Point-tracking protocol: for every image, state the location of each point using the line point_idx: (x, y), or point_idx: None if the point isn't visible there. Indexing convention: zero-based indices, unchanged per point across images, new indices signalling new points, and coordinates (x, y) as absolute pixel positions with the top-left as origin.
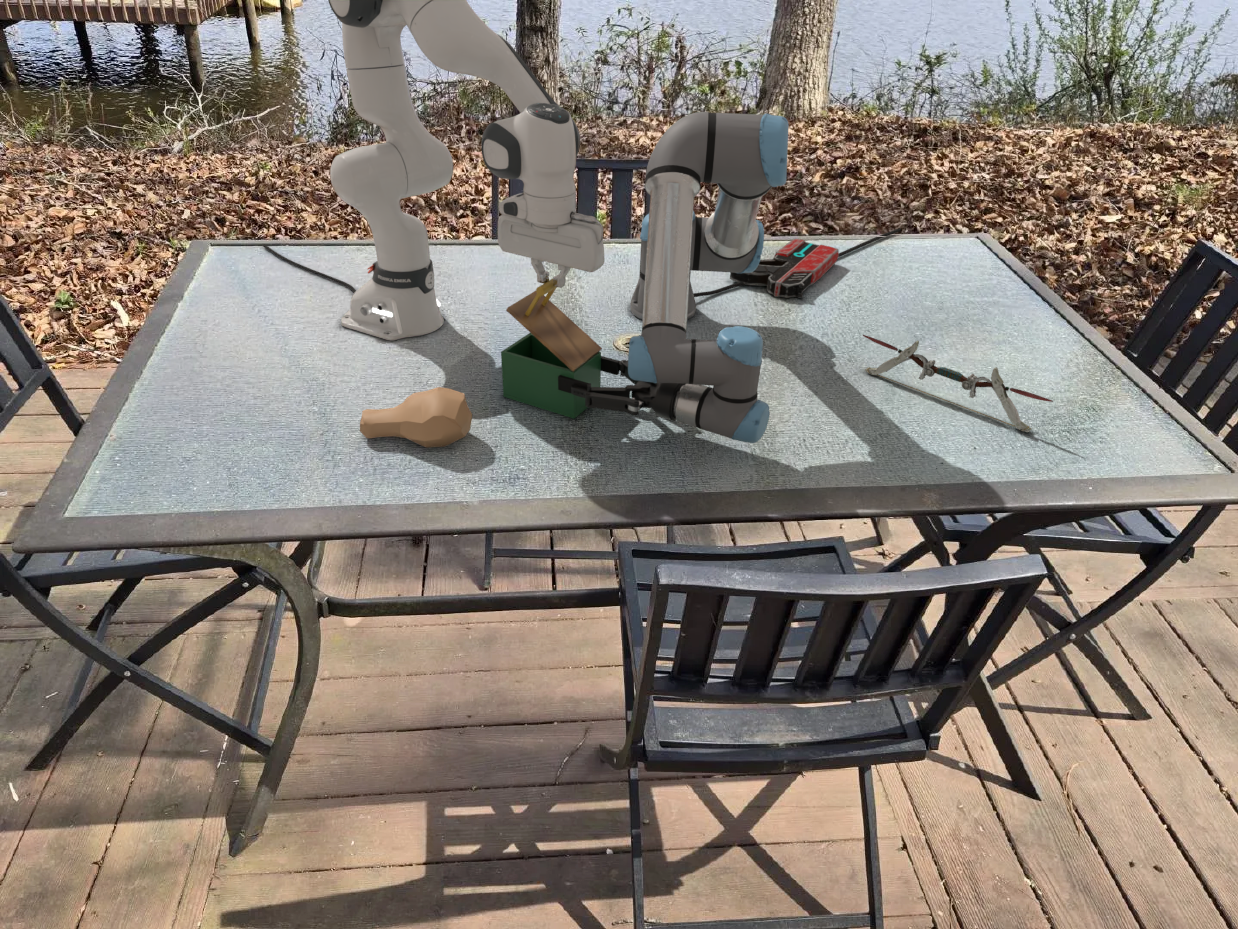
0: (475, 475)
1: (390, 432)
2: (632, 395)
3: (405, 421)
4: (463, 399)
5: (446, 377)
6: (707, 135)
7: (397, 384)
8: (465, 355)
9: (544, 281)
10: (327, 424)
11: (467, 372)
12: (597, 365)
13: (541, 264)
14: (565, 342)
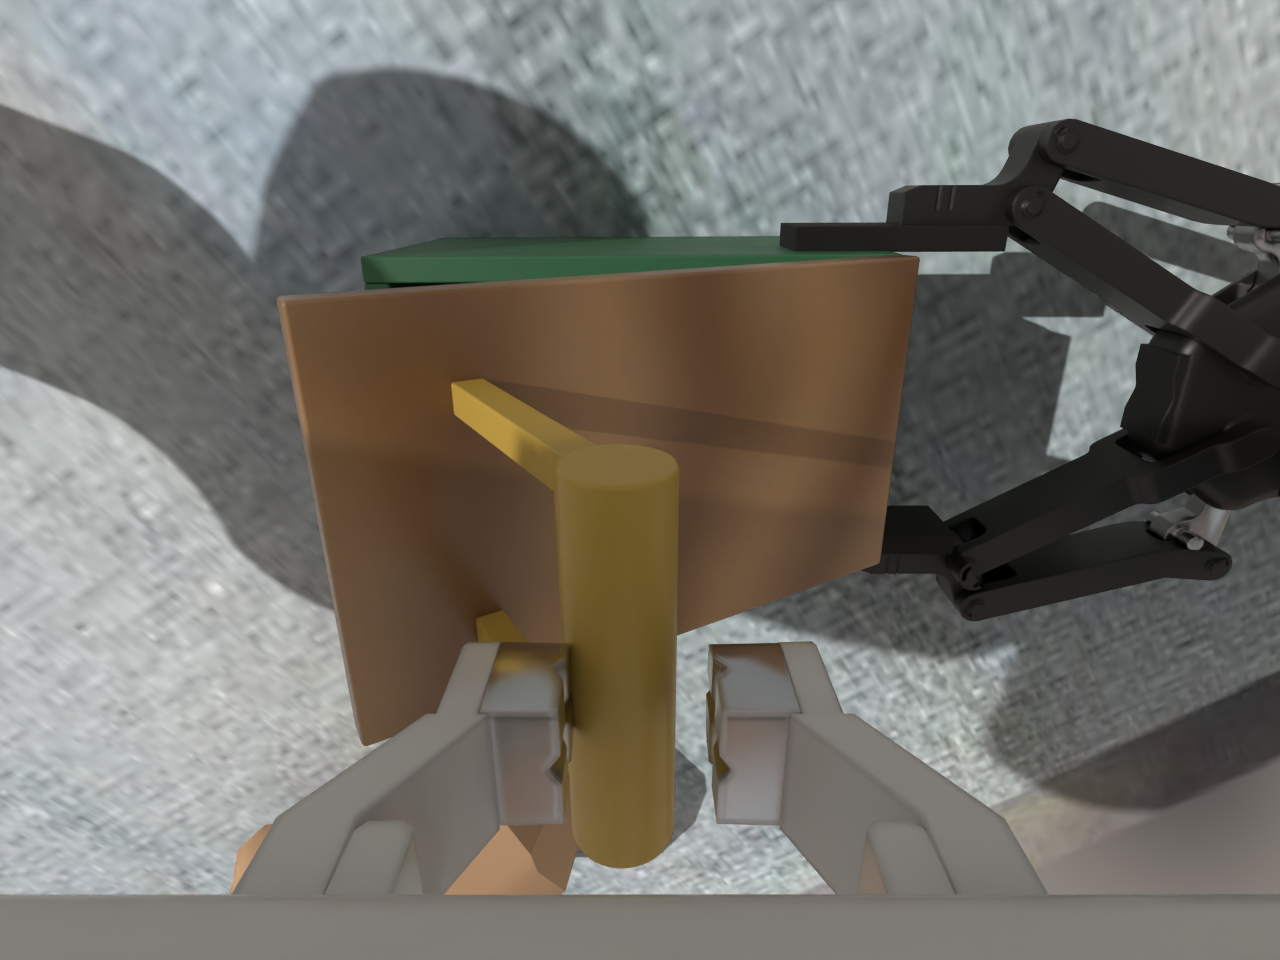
0: (696, 843)
1: None
2: (1147, 459)
3: None
4: (531, 856)
5: (160, 446)
6: None
7: (71, 583)
8: (38, 225)
9: (572, 743)
10: (148, 850)
11: (189, 363)
12: None
13: (409, 805)
14: (771, 492)
